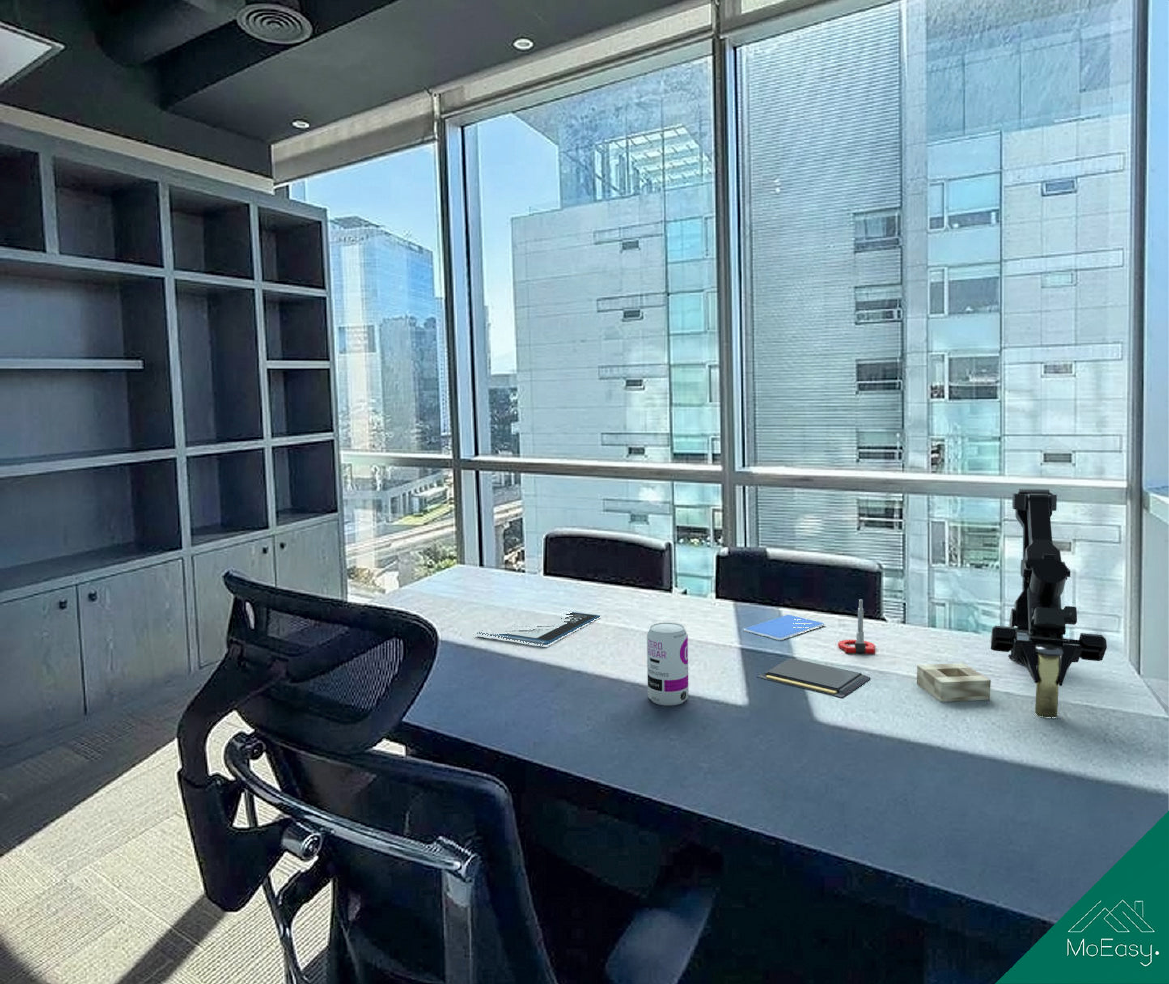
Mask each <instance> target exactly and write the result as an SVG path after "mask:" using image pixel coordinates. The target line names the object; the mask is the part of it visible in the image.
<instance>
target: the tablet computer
mask: <svg viewBox="0 0 1169 984" xmlns="http://www.w3.org/2000/svg"><path fill="white" fill-rule="evenodd" d="M794 619H796V620H794ZM797 619H801V620H798V621H797ZM806 619H807V620H806ZM793 623H794V624H793ZM795 623H812V624H805V625H804V624H795ZM824 625H825V626H826V624H825V623H824V622H822V621H821V622H820V621H818V620H812V619H809V618H804V617H801V616H796V615H792V614H784V615H782V616H780V617H779V616H778V617H776V618H773V619H770V620H767V621H763V622H760V623H758V624H754V625H751V626H748V627H744V628H742V631H743V630H744V631H743V632H745V631H746V632H745V633H749V632H753V633H756V634H758V635H757V636H759V635H761V636H760V637H762V636H769V637H771V638H774V639H777V640H784V639H786V638H788V637H790V636H794V635H796V634H798V633H800V632H805V631H807V630H808V629H809V630H810V629H811V628H815V627H821V626H824ZM825 626H824V627H825ZM793 627H796V628H793ZM797 627H802V628H797ZM803 627H804V628H803ZM805 627H809V628H805ZM821 628H822V627H821ZM786 640H787V639H786ZM784 641H785V640H784Z"/></svg>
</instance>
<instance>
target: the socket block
mask: <svg viewBox="0 0 1169 984" xmlns="http://www.w3.org/2000/svg"><path fill="white" fill-rule="evenodd" d="M991 682H992V681H991V679H989V677H987V676H985V675H984V674H981V672H979V671H977V670H975V669H974V668H972V667H971V666H969V665H968V664H965V663H964V662H962V663H961V662H960V663H959V662H958V663H957V662H956V663H955V662H954V663H939V664H938V663H936V664H918V665H917V666H916V684H917V685H918V686H919V687H920V688H922V689H923V690H925V691H926V692H927V693H929V694H930V695H931V696H932V695H933V696H932V697H934V698H935V699H936V700H938V701H941V703H944V702H946V703H947V702H948V701H949V702H966V701H967V702H968V701H985V700H986V701H989V700H988V699H990V700H991V686H992V685H991Z"/></svg>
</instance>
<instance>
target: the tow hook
mask: <svg viewBox="0 0 1169 984" xmlns="http://www.w3.org/2000/svg"><path fill="white" fill-rule="evenodd" d="M863 601H864V600H863V599H858V608H857V631H856V639H843V640H840V641H838V643H837V647H838V648H840V649H841V650H844V652H845V654H855V653H858V654H857V655H875V654H876V645H875V643H873V642H871V641H866V640H865V633H864V608H863V606H864V605H863V603H864V602H863ZM846 644H848V645H846ZM850 645H854V646H850Z"/></svg>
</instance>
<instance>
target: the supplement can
mask: <svg viewBox="0 0 1169 984" xmlns="http://www.w3.org/2000/svg"><path fill="white" fill-rule="evenodd" d="M688 635H689V634H688V633H687V631H686V628H685V625H682V624H680V623H676V622H657V623H654V624H651V625H650V626H649V629H648V631H647V633H646V657H647V659H646V661H647V662H646V664H647V666H646V667H647V669H646V670H647V672H646V673H647V674H646V675H647V696H648V697H647V698H649V699H650V701H651V702H652V703H654V704H657V705H660V706H668V707H669V706H677V705H680V704H683V703H685V701H686V700H688V698H689V636H688Z"/></svg>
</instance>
